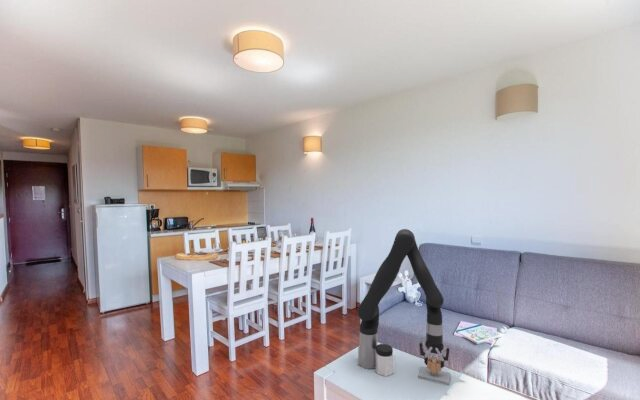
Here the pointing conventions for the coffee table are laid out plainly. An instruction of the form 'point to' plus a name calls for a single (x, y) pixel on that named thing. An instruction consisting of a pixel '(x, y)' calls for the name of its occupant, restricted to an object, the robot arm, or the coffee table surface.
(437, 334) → the robot arm
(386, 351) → the jar
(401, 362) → the coffee table surface
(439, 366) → the ring
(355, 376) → the coffee table surface
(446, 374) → the post block
